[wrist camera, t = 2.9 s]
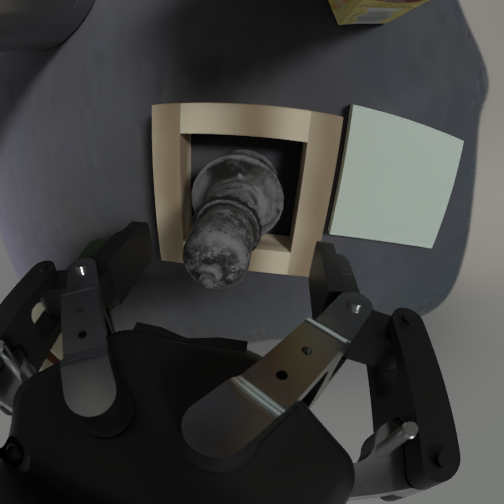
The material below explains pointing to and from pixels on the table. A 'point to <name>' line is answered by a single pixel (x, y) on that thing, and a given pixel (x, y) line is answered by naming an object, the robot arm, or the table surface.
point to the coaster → (393, 179)
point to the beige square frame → (246, 124)
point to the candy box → (370, 10)
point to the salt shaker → (230, 216)
